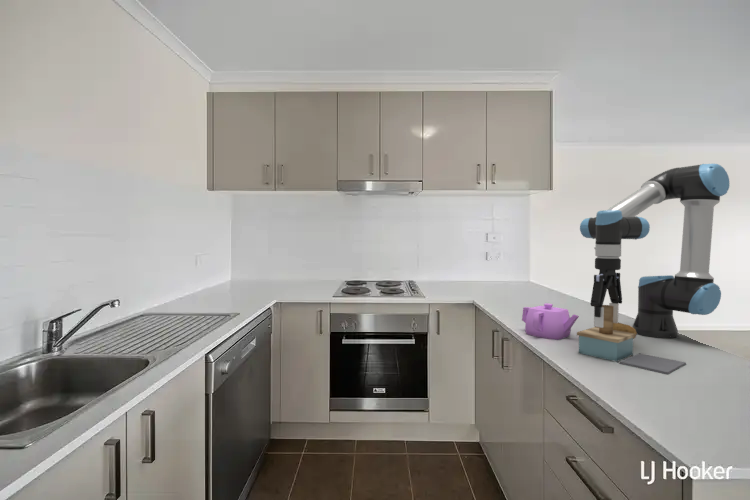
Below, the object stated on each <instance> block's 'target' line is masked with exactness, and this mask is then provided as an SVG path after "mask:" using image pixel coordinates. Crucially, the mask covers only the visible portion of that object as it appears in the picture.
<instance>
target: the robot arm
mask: <svg viewBox="0 0 750 500" xmlns="http://www.w3.org/2000/svg"><path fill="white" fill-rule="evenodd" d="M729 189H730V178H729V175H728V171H726V169H725V168H724V167H723V166H722V165H720V164H718V163H702V164H695V165H688V166H682V167H674V168H673V167H672V168H670V169H667V170H665V171H663V172H661V173H659V174H656V175H655V176H653V177H651V178H649V179H647V180H646V181H645V182H643V183H642V185H641V186H640V188H639V189H638V190H636V191H635V192H632V193H631V194H630V195H628V196H626V197H625V198H623V199H621V200H620V201H619V202H617V203H615V204H614V205H613V206H612V207H609V208H608V209H606V210H599V211H597V212H596V216H595V217H589V218H584V219H583V220H581V222H580V224H579V231H580V233H581V235H582V237H583V238H586V239H593V240H595V247H593V248H594V255H595V256H596V257H595V259H594V268H595V269H596V270H598V271H599V273H598V274H594V275H593V285H592V286H593V287H592V290H591V291H592V292H591V297H590V306H591V307H594V309H593V327H601V328H603V323H604V307H602V306H603V305H604V301H605V298H606V295H607V292H608V295H609V299H610V302H608V303H609V304H608V305H611V306H614V309H613V323H618V322H619V312H620V310H619V308H620V307H619V305H621V304H622V303H623V296H622V295H623V294H622V286H621V285H622V284H621V273H620V272H616V271H620V270H621V267H622V263H621V262H622V259H621V258H620V257H622V240H635V241H636V240H639V239H643V238H645V237H647V236H648V234H649V233H650V229H651V227H650V223H649V221H648V219H646V218H644V217H642V216H641V217H640V216H638V215H640V214H641V213H642V212H644V211H645V210H647V209H648V208H650V207H651V206H653V205H658V204H660V203H662V202H664V201H667V200H672V199H673V200H674V199H679V200H680V201H679V202H680V204H681V205H683V207H684V210H683V211H684V212H683V224H682V225H683V227H682V239H681V240H682V241H681V253H680V262H679V263H680V264H679V265H680V266H679V271H678V272H677V273H676V274H675V273H674V275H667V274H666V275H648V276H647V275H646V276H641V277H640V278H639V279H638V286H637V289H638V290H637V291H638V292H637V293H638V297H637V298H638V299H637V300H638V301H637V314H636V316H635V319H634V321H633V323H632V327H633V328H634V329H635V330H636V332H637V334H636V335H639V334H640V336H644V335H645V336H644V337H649V338H658V339H659V338H663V339H673V338H677V337H678V336H679V334H678V327H677V324H676V321H675V318H674V311H675V312H681V313H687V314H691V315H699V316H708V315H709V314H712V313H713V312H714V311H715V310H716V309H717V308H718V307H719V305H720V301H721V297H722V291H721V288H720V286H719V285H718V284H716V283H714V280H715V278H714V277H713V276H712V275H711V274H710V266H711V265H710V263H711V250H712V237H713V225H714V224H713V223H714V208H715V207H716V205H718V204H719V203H720V201H721V197H723V196H725V195H727V193H728V191H729Z"/></svg>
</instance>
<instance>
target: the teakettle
mask: <svg viewBox="0 0 750 500" xmlns="http://www.w3.org/2000/svg"><path fill="white" fill-rule="evenodd" d="M579 317H580V316H579V315H576V314H572V315H571V317H570V312H569V309H567V308H561V307H556V306H555V307H554V305H553V303H549V302H548V303H546V302H545V303H543V305H537V306H532V307H531V306H530V307H529V306H523V307H522V316H521V321H522V322H524V323H525V327H524V329H525V330H524V331H525V333H526V335H529V336H533V337H538V338H543V339H549V340H553V341H554V340H557V341H558V340H562V339H565V338H568V337H570V335H571V331H572V327H573V326H574V324H575V323H576V321H577V320H578V318H579Z"/></svg>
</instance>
